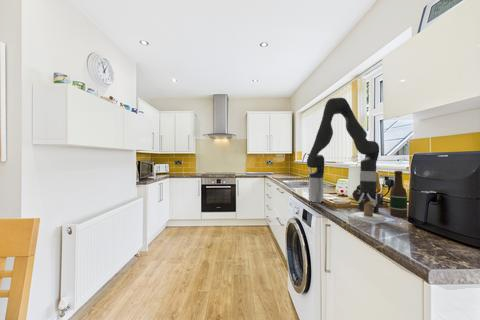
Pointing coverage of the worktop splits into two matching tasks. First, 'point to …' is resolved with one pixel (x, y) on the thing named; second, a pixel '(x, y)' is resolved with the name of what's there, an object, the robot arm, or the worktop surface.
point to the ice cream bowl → (360, 195)
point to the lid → (368, 214)
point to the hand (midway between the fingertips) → (368, 211)
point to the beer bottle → (398, 197)
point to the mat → (370, 221)
